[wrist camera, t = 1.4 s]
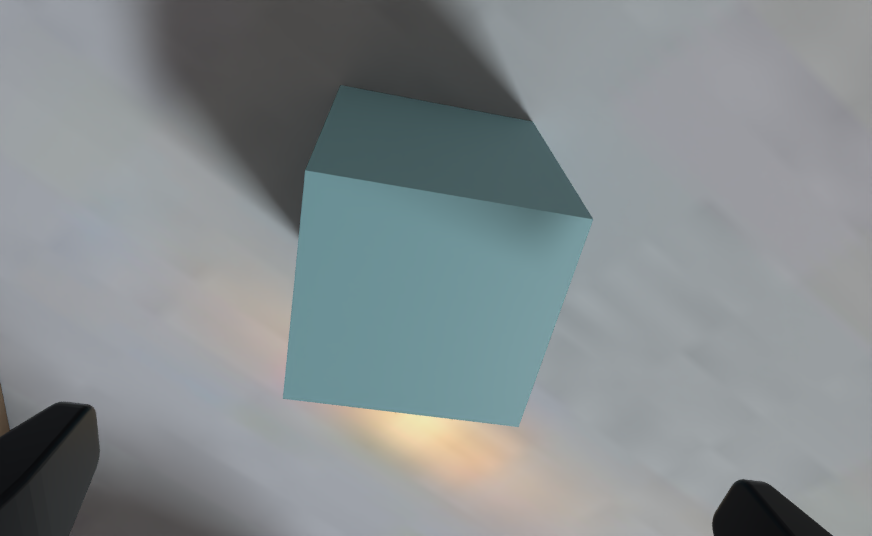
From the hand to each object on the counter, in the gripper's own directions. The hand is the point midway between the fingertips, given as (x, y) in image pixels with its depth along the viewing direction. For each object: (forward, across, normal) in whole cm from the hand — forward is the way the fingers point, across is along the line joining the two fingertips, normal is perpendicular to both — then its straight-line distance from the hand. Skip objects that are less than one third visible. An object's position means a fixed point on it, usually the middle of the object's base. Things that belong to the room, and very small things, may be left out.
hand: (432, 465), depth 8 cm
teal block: (+10, 0, 0) cm, 10 cm away
